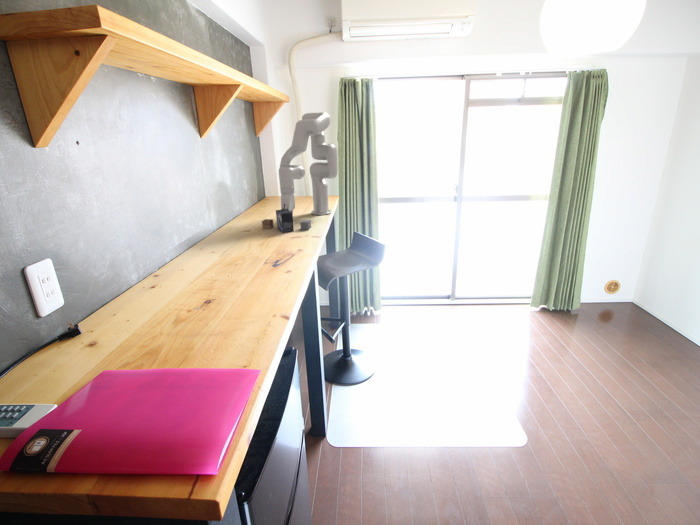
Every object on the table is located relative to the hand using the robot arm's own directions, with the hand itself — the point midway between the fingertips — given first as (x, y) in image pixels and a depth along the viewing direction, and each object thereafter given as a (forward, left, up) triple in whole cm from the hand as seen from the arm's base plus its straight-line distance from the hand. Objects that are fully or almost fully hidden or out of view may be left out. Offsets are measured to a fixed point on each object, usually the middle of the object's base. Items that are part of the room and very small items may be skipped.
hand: (290, 222), depth 208 cm
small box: (+9, 0, -2) cm, 9 cm away
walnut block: (+6, -11, -2) cm, 12 cm away
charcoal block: (+6, +11, -2) cm, 12 cm away
